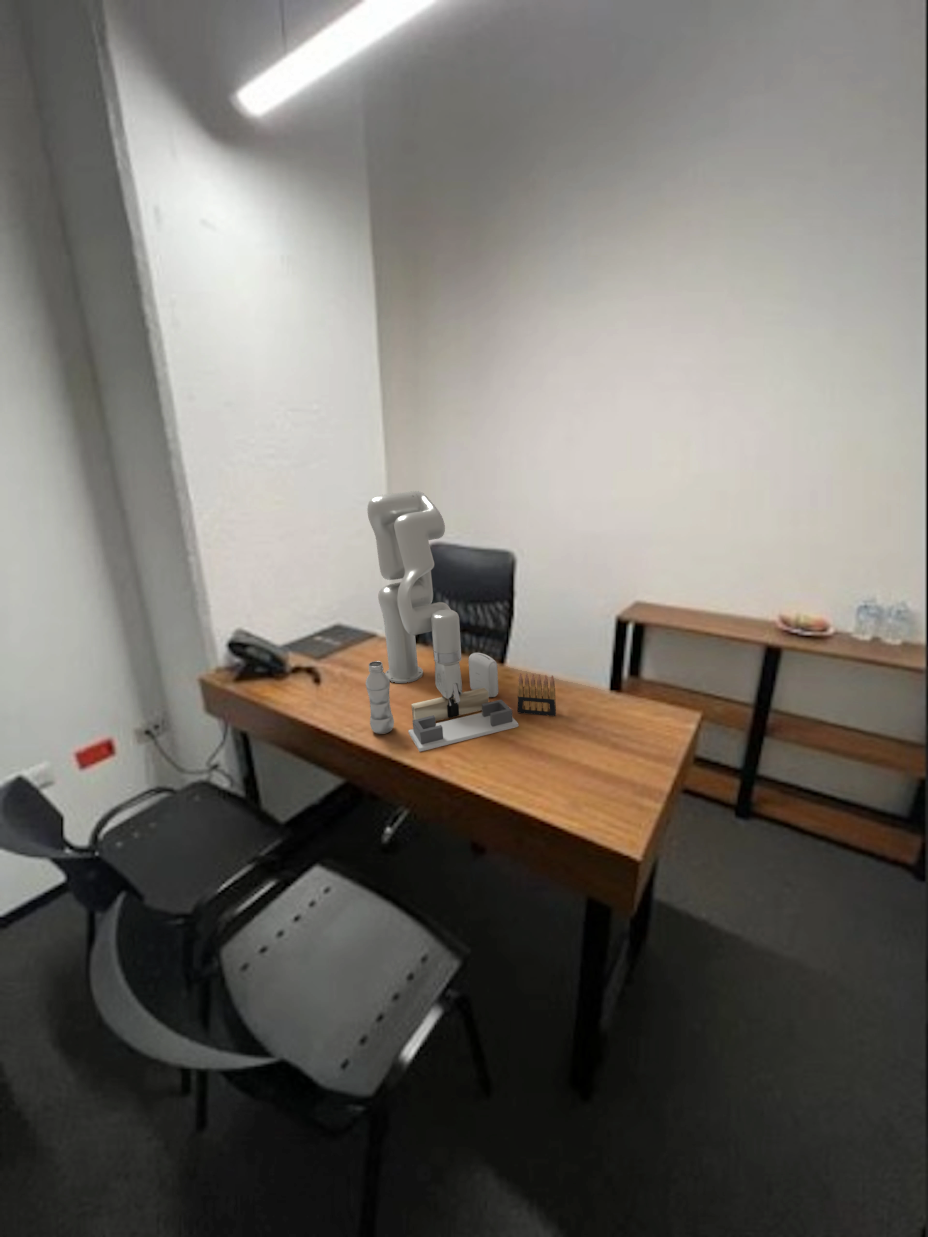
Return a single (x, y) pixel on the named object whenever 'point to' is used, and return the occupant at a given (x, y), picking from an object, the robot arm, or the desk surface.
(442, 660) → the robot arm
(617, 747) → the desk surface
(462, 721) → the end cap board
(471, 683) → the photo printer
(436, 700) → the slat
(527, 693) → the ammunition clip
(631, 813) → the desk surface
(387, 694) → the plastic bottle
